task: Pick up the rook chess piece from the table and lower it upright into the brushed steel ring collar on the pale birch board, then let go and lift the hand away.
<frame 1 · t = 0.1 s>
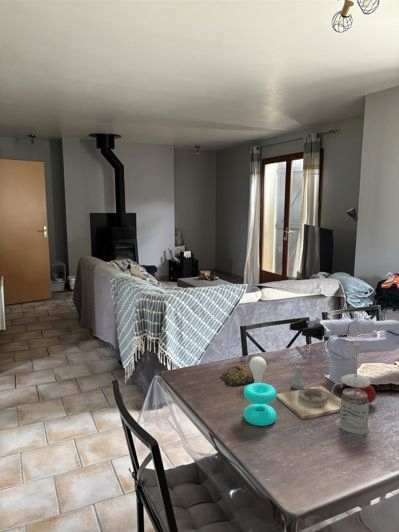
hand: (296, 329, 142), 22 cm above the table, tool horizontal, fingers open, 7 cm apart
french press: (350, 424, 121), on the table
bread roll: (237, 379, 154), on the table
ring board: (312, 402, 134), on the table
donuts: (259, 419, 124), on the table
rook chess piece: (297, 387, 146), on the table
red rounded piece: (365, 404, 132), on the table
lightbulb: (257, 386, 147), on the table
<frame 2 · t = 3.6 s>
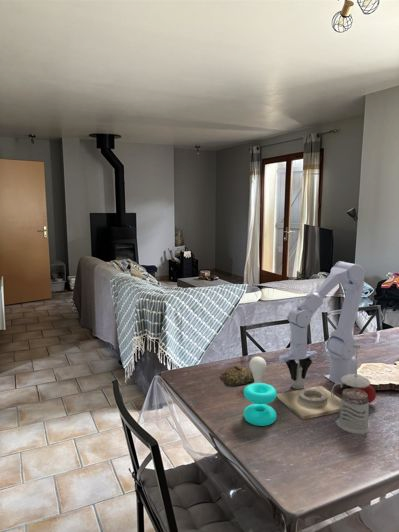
hand: (298, 378, 145), 3 cm above the table, tool pointing down, fingers closed on rook chess piece, 3 cm apart
rook chess piece: (297, 387, 146), on the table, touching gripper
everything else where it was.
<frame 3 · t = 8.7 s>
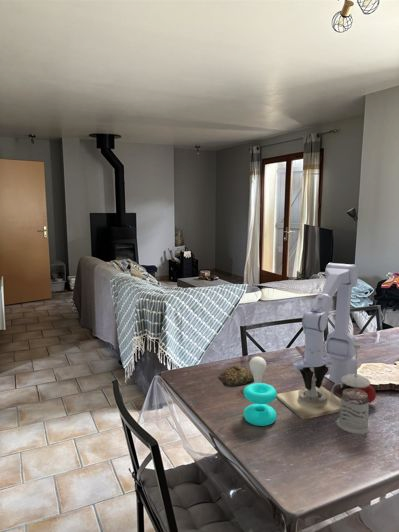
hand: (312, 387, 133), 5 cm above the table, tool pointing down, fingers closed on rook chess piece, 3 cm apart
rook chess piece: (311, 399, 134), point 1 cm above the table, touching gripper, ring board
everything else where it was.
when the fingers open (5 cm above the table, at t = 9.3 s): rook chess piece stays where it is, resting on ring board.
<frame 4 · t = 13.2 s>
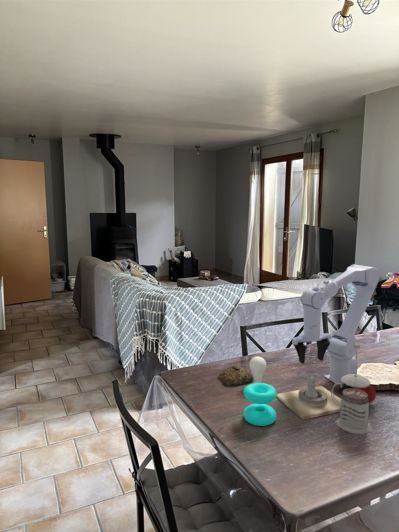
hand: (311, 361, 144), 10 cm above the table, tool pointing down, fingers open, 7 cm apart
rook chess piece: (311, 399, 134), point 1 cm above the table, touching ring board
at the end: rook chess piece 0.7 cm off-centre on the ring board, point 0.8 cm above the ring board's base; rook chess piece tilted 0°; the gripper is holding nothing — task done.
